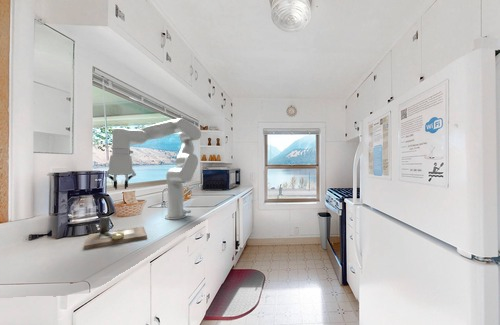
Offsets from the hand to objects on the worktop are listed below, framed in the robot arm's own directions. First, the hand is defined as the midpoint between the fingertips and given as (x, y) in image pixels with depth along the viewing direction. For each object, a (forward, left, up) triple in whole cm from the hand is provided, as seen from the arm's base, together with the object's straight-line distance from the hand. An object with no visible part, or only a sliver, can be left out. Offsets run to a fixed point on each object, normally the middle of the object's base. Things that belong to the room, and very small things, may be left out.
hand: (120, 188), depth 103 cm
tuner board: (+1, +12, -21) cm, 24 cm away
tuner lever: (+3, +13, -20) cm, 24 cm away
